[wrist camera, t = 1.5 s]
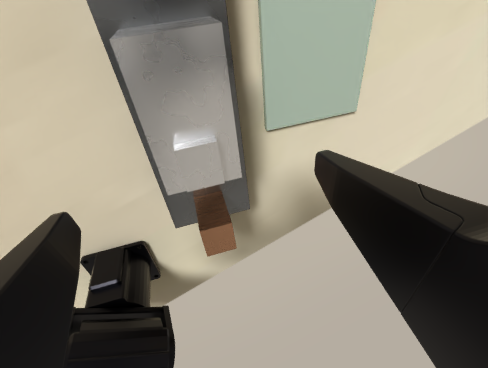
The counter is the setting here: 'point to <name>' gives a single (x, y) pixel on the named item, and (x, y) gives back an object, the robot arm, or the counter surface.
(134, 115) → the hand plane
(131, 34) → the lever cap
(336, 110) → the mat
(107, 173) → the counter surface
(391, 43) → the counter surface
